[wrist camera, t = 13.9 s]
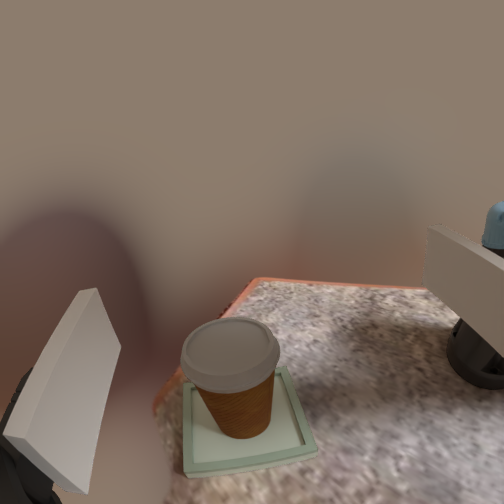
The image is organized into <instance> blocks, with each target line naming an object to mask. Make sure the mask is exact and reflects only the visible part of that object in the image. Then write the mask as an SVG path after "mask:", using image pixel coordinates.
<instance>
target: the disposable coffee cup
mask: <svg viewBox="0 0 504 504" xmlns="http://www.w3.org/2000/svg"><path fill="white" fill-rule="evenodd" d="M279 357H280V346H279V343H278V341H277V339H276V338H275V337H274V336H273V334H272V332H271V330H270V329H269V328H268V327H267V326H266V325H264V324H263V323H261V322H258V321H256V320H253V319H250V318H244V317H228V318H221V319H217V320H214V321H211V322H208V323H206V324H204V325H202V326H200V327H198V328H197V329H195V330H194V331H193V332H191V333H190V335H189V336H188V337H187V339H186V340H185V342H184V345H183V347H182V354H181V359H180V363H181V368H182V371H183V372H184V374H185V376H186V377H187V378H188V379H189V380H190V381H192V383H193V384H194V385H195V387H196V389H197V390H198V392H199V394H200V396H201V398H202V399H203V401H204V403H205V405H206V407H207V408H208V410H209V411H210V413H211V415H212V417H213V418H214V420H215V422H216V423H217V425H218V426H219V428H220V430H221V431H222V432H223V433H224V434H226V435H227V436H229V437H231V438H235V439H249V438H253V437H255V436H258V435H260V434H261V433H263V432H264V431H265V430H266V429H267V427H268V426H269V424H270V421H271V410H272V399H273V388H274V376H275V367H276V365H277V363H278V361H279Z"/></svg>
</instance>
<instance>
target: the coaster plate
mask: <svg viewBox="0 0 504 504" xmlns="http://www.w3.org/2000/svg"><path fill="white" fill-rule="evenodd" d="M317 454H318V448H317V445H316V443H315V440H314V437H313V435H312V432H311V430H310V427H309V424H308V422H307V419H306V417H305V414H304V411H303V409H302V406H301V403H300V401H299V398H298V395H297V393H296V390H295V387H294V385H293V382H292V380H291V377H290V374H289V372H288V369H287V366H283V367H278V368H275V376H274V388H273V399H272V410H271V421H270V424H269V426H268V427H267V429H266V430H265V431H264V432H263V433H261V434H260V435H258V436H255V437H253V438H249V439H235V438H231V437H229V436H227V435H226V434H224V433H223V432H222V431H221V430H220V428H219V426H218V425H217V423H216V422H215V420H214V418H213V417H212V415H211V413H210V411H209V410H208V408H207V407H206V405H205V403H204V401H203V399H202V398H201V396H200V394H199V392H198V390H197V389H196V387H195V385H194V384H193V383H192V382H188V383H183V466H184V473H185V474H186V476H187V477H188V478H202V477H212V476H221V475H229V474H237V473H243V472H250V471H256V470H261V469H267V468H272V467H277V466H281V465H286V464H290V463H294V462H299V461H303V460H306V459H310V458H314V457H317Z"/></svg>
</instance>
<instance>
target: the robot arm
mask: <svg viewBox="0 0 504 504" xmlns="http://www.w3.org/2000/svg"><path fill="white" fill-rule="evenodd" d="M482 244H483V246H481V245H479V244H477V243H476V242H474V241H472V240H470V239H468V238H466V237H464V236H463V235H460V234H459V233H457V232H455V231H453V230H451V229H449V228H448V227H446V226H444V225H442V224H437V225H433V226H428V232H427V245H426V254H425V263H424V271H423V278H422V285H423V286H424V287H426V288H427V289H428V290H429V291H430V292H432V293H433V294H434V295H435V296H436V297H437V298H439V299H440V300H441V301H442V302H443V303H445V304H446V305H447V306H448V307H449V308H450V309H451V310H453V311H454V312H455V313H456V314H457V315H458V316H459V317H461V318H460V319H459V320H458V322H457V323H456V325H455V326H454V328H453V330H452V332H451V335H450V338H449V341H448V344H447V356H448V359H449V361H450V364H451V365H452V367H453V368H454V370H455V371H456V372H457V373H458V374H459V375H460V376H461V377H462V378H464V379H465V380H467V381H468V382H470V383H472V384H474V385H476V386H479V387H482V388H487V389H503V388H504V201H502V202H499V203H497V204H495V205H493V206H492V207H491V208H490V210H489V212H488V214H487V218H486V224H485V231H484V234H483V236H482ZM120 350H121V345H120V343H119V341H118V338H117V336H116V334H115V332H114V330H113V327H112V325H111V323H110V320H109V318H108V316H107V313H106V311H105V309H104V306H103V303H102V301H101V298H100V296H99V293H98V290H97V288H94V289H87V290H81V291H79V292H78V294H77V296H76V297H75V298H74V300H73V301H72V303H71V305H70V306H69V308H68V309H67V311H66V312H65V314H64V316H63V317H62V319H61V321H60V322H59V324H58V326H57V327H56V329H55V331H54V332H53V334H52V336H51V337H50V339H49V341H48V343H47V344H46V346H45V348H44V350H43V352H42V353H41V355H40V357H39V359H38V361H37V363H36V364H35V366H34V368H31V369H30V370H29V371H28V372H27V373H26V374H25V375H24V376H23V378H22V379H21V381H20V383H19V385H18V387H17V388H16V393H14V394H13V397H12V399H11V403H9V405H8V407H7V409H6V411H5V413H4V415H3V418H2V420H1V422H0V504H62V503H61V501H60V499H59V497H58V496H57V494H56V493H55V492H54V491H53V490H52V486H53V483H56V484H57V485H58V486H59V487H61V488H62V489H63V490H64V491H66V492H72V493H78V494H84V495H88V490H89V483H90V477H91V472H92V466H93V461H94V455H95V450H96V445H97V440H98V436H99V431H100V426H101V422H102V418H103V413H104V409H105V405H106V401H107V397H108V393H109V389H110V385H111V381H112V377H113V374H114V370H115V367H116V363H117V360H118V356H119V353H120Z"/></svg>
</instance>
